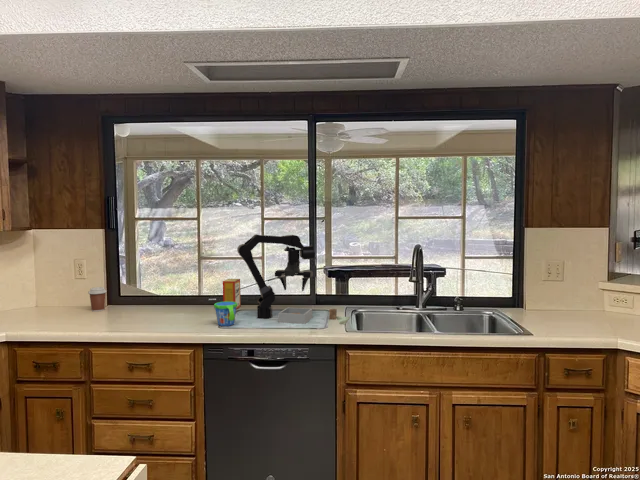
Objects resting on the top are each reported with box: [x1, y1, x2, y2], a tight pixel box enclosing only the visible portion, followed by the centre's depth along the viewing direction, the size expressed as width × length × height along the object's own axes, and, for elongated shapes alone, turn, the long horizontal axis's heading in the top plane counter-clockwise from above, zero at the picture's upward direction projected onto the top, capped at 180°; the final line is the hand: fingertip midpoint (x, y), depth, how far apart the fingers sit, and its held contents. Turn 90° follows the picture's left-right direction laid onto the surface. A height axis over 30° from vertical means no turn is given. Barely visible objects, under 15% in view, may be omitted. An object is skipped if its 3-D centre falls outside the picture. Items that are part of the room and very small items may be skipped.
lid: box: [328, 308, 350, 325], centre depth 228 cm, size 14×14×6 cm
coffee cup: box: [87, 286, 108, 312], centre depth 253 cm, size 9×9×12 cm
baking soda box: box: [222, 278, 242, 310], centre depth 256 cm, size 10×6×16 cm
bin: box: [278, 307, 313, 325], centre depth 226 cm, size 13×13×5 cm
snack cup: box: [213, 301, 237, 327], centre depth 220 cm, size 16×10×10 cm
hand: (294, 290), depth 236 cm, fingers open, 9 cm apart
